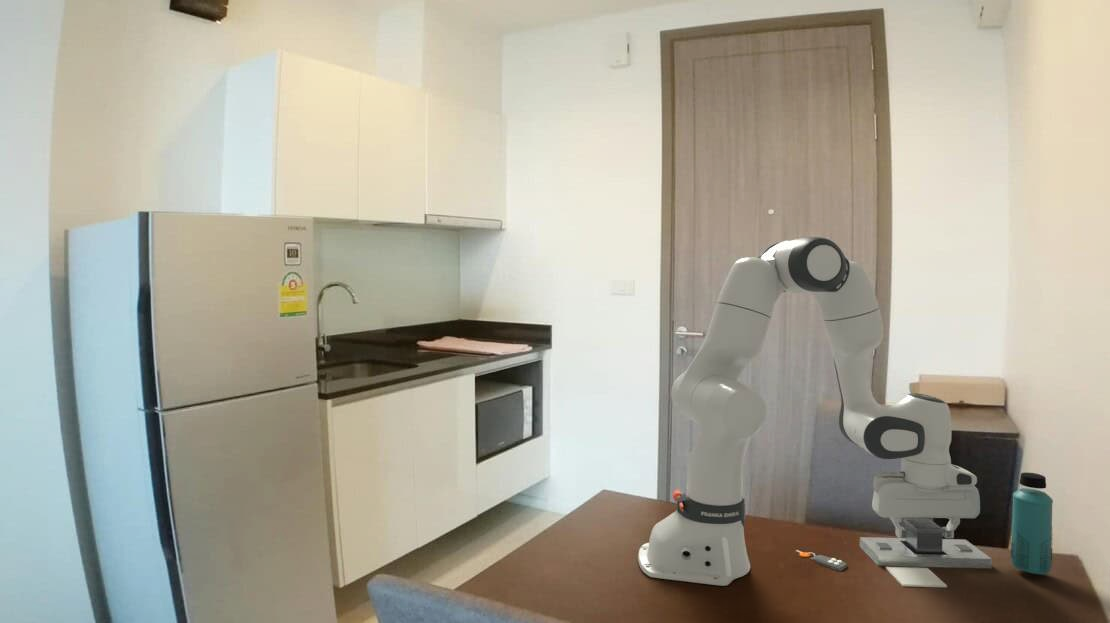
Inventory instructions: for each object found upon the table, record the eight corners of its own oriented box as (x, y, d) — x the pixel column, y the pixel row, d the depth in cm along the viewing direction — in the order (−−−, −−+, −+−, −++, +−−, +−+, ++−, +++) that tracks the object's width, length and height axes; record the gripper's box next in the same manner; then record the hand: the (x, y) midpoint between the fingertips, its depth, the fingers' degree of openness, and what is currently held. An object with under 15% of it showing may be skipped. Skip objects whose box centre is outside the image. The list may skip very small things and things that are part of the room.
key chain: (848, 568, 126) (848, 561, 126) (840, 574, 124) (840, 566, 124) (788, 547, 136) (788, 540, 136) (779, 552, 133) (779, 545, 133)
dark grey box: (915, 562, 127) (916, 529, 127) (903, 551, 133) (903, 519, 132) (943, 563, 127) (944, 530, 127) (929, 551, 132) (930, 519, 132)
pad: (902, 586, 118) (902, 584, 118) (885, 568, 125) (885, 566, 125) (946, 587, 117) (946, 585, 117) (927, 569, 124) (927, 567, 124)
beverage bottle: (1058, 583, 118) (1063, 480, 117) (1019, 580, 120) (1023, 478, 118) (1039, 567, 125) (1043, 470, 123) (1002, 565, 126) (1006, 468, 125)
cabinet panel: (877, 565, 126) (878, 554, 126) (859, 546, 135) (859, 535, 135) (991, 568, 125) (991, 557, 124) (965, 548, 134) (965, 538, 133)
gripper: (880, 476, 127) (879, 542, 127) (985, 477, 125) (983, 543, 126) (867, 467, 133) (866, 530, 134) (967, 467, 131) (965, 531, 132)
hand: (924, 536), depth 130 cm, fingers open, 8 cm apart
